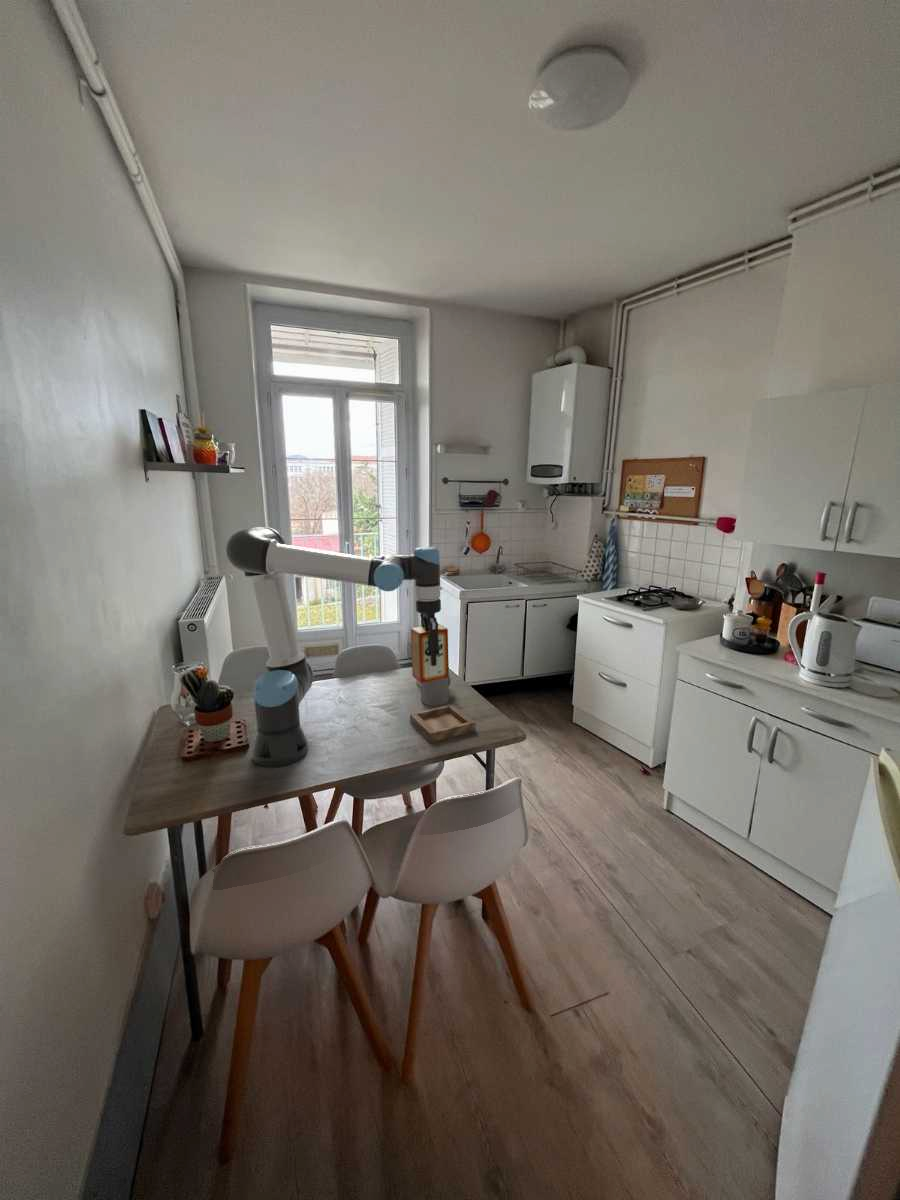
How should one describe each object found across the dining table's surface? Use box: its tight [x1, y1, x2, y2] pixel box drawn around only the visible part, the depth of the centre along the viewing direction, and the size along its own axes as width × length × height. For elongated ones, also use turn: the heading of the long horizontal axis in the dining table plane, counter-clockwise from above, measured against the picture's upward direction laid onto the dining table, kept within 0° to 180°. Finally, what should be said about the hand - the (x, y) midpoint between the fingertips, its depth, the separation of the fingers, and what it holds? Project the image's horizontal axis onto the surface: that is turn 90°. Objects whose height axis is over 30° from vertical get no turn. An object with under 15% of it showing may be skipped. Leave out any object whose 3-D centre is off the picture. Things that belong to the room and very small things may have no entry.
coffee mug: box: [420, 674, 451, 707], centre depth 177 cm, size 13×10×10 cm
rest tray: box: [409, 704, 476, 744], centre depth 157 cm, size 16×15×3 cm
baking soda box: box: [410, 623, 450, 683], centre depth 150 cm, size 10×6×16 cm
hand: (430, 670), depth 151 cm, fingers closed on baking soda box, 7 cm apart
